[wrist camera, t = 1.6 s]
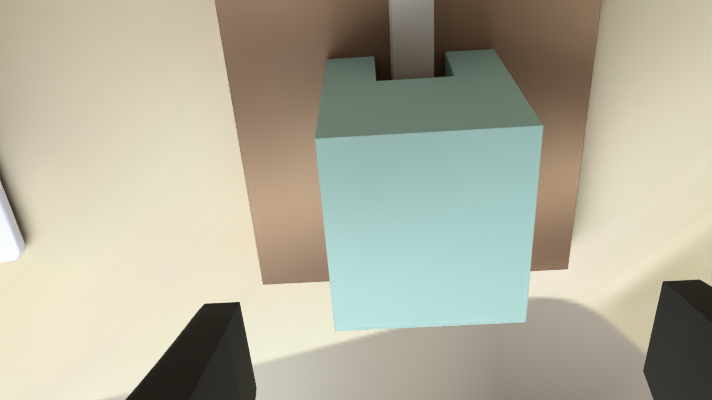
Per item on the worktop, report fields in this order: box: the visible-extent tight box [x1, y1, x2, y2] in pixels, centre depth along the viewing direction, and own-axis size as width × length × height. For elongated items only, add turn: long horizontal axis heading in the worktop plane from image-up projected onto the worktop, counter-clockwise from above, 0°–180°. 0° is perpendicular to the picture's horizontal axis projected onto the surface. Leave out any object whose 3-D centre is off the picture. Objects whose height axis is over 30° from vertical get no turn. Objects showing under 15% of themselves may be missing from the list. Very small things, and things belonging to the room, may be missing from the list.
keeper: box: [315, 49, 543, 331], centre depth 16 cm, size 5×4×5 cm
